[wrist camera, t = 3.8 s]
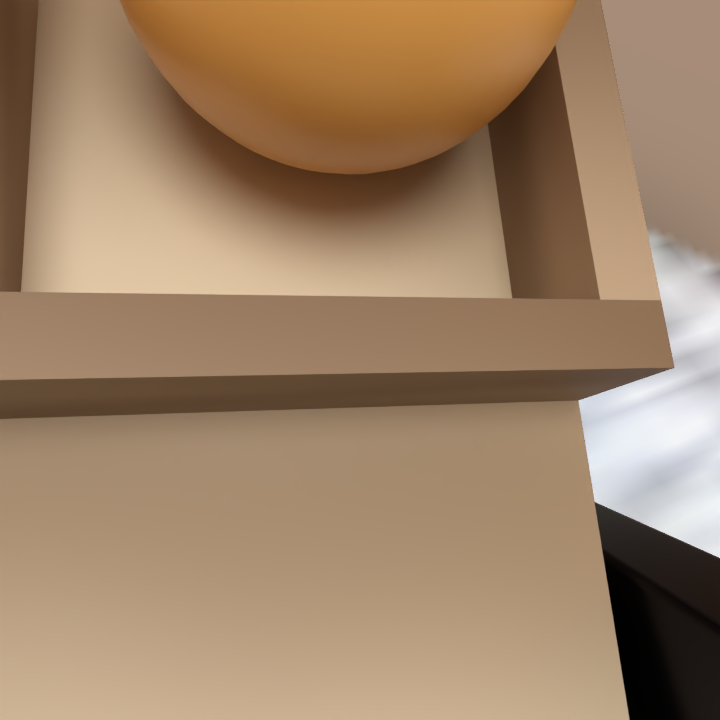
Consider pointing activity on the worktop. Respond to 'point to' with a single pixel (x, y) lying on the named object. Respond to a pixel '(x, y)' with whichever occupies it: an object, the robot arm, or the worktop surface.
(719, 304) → the worktop surface
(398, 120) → the ball
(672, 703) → the robot arm
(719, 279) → the worktop surface
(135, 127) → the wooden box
